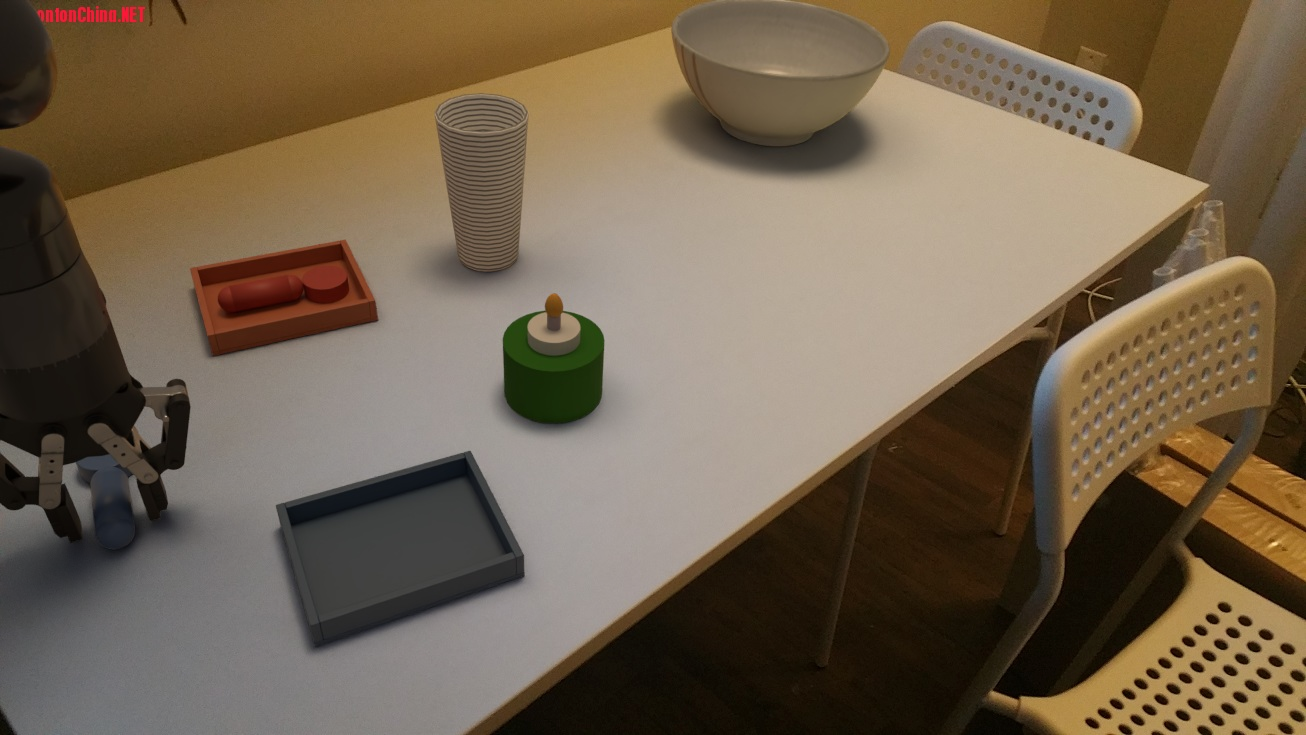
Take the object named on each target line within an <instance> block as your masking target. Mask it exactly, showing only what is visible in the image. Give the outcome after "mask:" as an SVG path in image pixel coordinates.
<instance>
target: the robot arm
mask: <svg viewBox="0 0 1306 735" xmlns="http://www.w3.org/2000/svg"><path fill="white" fill-rule="evenodd" d="M57 63H58V62H57V57H56V52H55V49H54V45H53V42H52V39H51V36H50V34H49V32H48V30H47V28H46V25H45V23H44V22H43V20H42V17H41V16H40V14H39V13H38V11H37V10H36V8H35V7H34V5H32V3H31V2H30V0H0V131H3V130H5V131H6V130H13V129H17V128H21V127H25V126H26V125H29V124H31V123H32V122H34V121H35V120H36V119H38V118H39V117H40V116H42V115H43V114H44V112H46V110H47V109H48V107H49V105H50V104H51V102H52V100H53V98H54V96H55V92H56V87H57V81H58V64H57ZM57 180H58V179H57V178H56V176H55V174H54V172H53V171H52V170H51V168H50V166H48V165H47V163H45V162H44V161H42V160H41V159H40V158H38V157H36V156H34V155H32V154H29V153H26V152H24V151H21V150H18V149H15V148H11V147H7V146H3V145H0V442H1V441H2V442H4V443H6V444H8V445H10V446H12V447H15V448H17V449H19V450H21V451H24V452H26V453H28V454H30V455H32V456H34V457H36V458H38V465H37V466H38V467H37V476H26V475H25V473H23V472H22V471H21V470H20V469H19V468H17V467H16V466H15V465H14V464H13V463H12V462H11V461H10V460H9V459H8V458H6V456H5V455H4V454H3V453H2V452H0V504H1V505H2V506H3V507H4V508H5V509H7V510H9V511H19V510H22V509H23V508H25V507H26V506H38V507H40V508H42V509H43V511H44V513H45V516H46V519H47V520H48V522H49V525H50V526H51V528H52V529H51V530H52V531H53V533H54V535H56V536H57V537H58V538H60V539H62V538H65V537H67V539H68V541H69V542H70V544H72V543H76V542H79V541H83V540H84V539H83V528H82V527H83V526H82V520H81V517H80V515H79V513H78V510H77V508H76V506H75V503H74V502H73V499H72V497H71V494H70V492H69V490H68V487H67V484H66V483H63V472H64V471H63V470H64V468H63V467H64V466H67V465H71V464H76V462H77V461H80V460H82V459H84V458H86V457H95V456H104V455H108V454H110V455H111V456H112V457H113V458H114V459H115V460H116V461H117V462H118V463H119V464H120V465H121V466H122V467H123V468H125V467H127V468H128V469H129V470H130V471H131V473H132V474H131V475H133V476H134V477H135V479H136V484H137V489H138V492H139V496H140V497H141V501H142V504H143V506H144V508H145V511H146V514H147V517H148V519H149V522H153V521H157V520H160V519H161V520H162V513H161V512H162V511H163V512H164V511H167V510H168V507H169V500H168V494H167V491H166V490H167V489H166V486H165V484H164V480H163V477H162V476H161V475H162V474H163V473H165V471H167V470H171V471H178V470H180V469H182V467H184V465H185V462H186V453H187V452H186V451H187V444H188V435H189V425H190V418H191V417H190V416H191V407H192V406H191V402H190V397H189V392H188V387H187V384H186V382H185V381H184V380H183V379H181V378H173V379H171V380H169V381H168V382H167V383H166V386H145V387H144V386H143V384H142V383H141V382H140V381H139V380H137V379H136V378H135V377H133V375H131V373H130V371H129V369H128V366H127V363H126V361H125V357H124V355H123V352H122V351H123V350H122V349H121V346H120V343H119V340H118V337H117V334H116V331H115V327H114V326H113V323H112V320H111V317H110V314H109V311H108V308H107V299H106V296H105V294H104V292H103V290H102V289H101V287H100V285H99V282H98V279H97V276H96V275H95V273H94V270H93V268H92V267H91V265H90V263H89V261H88V259H87V258H86V256H85V254H84V251H83V249H82V246H81V244H80V242H79V238H78V236H77V233H76V229H75V227H74V225H73V222H72V218H71V215H70V213H69V209H68V207H67V204H66V200H65V198H64V195H63V192H62V190H61V188H60V185H59V182H58V181H57ZM145 407H147V408H150V409H152V411H153V413H154V417H155V418H156V419H158V420H161V422H162V428H161V437H160V438H161V439H160V442H159V443H158V444H156V445H154V446H152V447H151V446H150V445H149V443H148V442H146V440H145V439H143V438H144V437H142V436H141V434H140V433H139V431H138V429H137V427H136V426H135V425H136V423H137V421H138V419H139V417H140V416H141V414H142V412H143V410H144V409H145Z"/></svg>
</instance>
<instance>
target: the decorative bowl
mask: <svg viewBox="0 0 1306 735" xmlns="http://www.w3.org/2000/svg"><path fill="white" fill-rule="evenodd" d="M670 29H671V30H670V31H671V40H672V45H673V49H674V54H675V57H676V60H677V63H678V66H679V68H680V72H681V74H682V76H683V78H684V80H685V82H686V84H687V86H688V88H689V89H690V90H691V92H692V94H693V95H694V97H695V98H696V99H697V101H698V102H699V103H700V104H701V105H702V107H704V109H705V110H707V111H708V112H709V113H710V114H711V115H712V116H714V117H715V118H716V119H718V120H719V124H720V126H721V128H722V129H723V130H724V131H725V132H726V133H727V134H729V135H730V136H732V137H734V138H736V139H738V140H740V141H743V142H747V143H748V144H749V143H750V144H754V145H759V146H764V147H765V146H766V147H789V146H795V145H799V144H803V143H804V142H807V141H809V140H810V139H811V138H812V137H813V135H814V134H815V133H816V132H819V131H821V130H823V129H826V128H828V127H830V126H832V125H833V124H835V123H837V122H838V121H840V120H841V119H843V118H844V117H845V116H846V115H848V114H849V113H850V112H851V111H852V110H854V108H856V107H857V106H858V105H859V104H860V102H862V100H863V99H864V98H865V97H866V96H867V94H868V93H869V92H870V90H871V89H872V88H873V87H874V85H875V84H876V82H877V80H878V79H879V78H880V76H881V75H882V72H883V70H884V69H885V66H886V64H887V63H888V60H889V57H890V53H891V47H890V43H889V42H888V40H887V38H886V37H885V35H884V34H882V32H880V31H879V30H878V29H877V28H876V27H874V26H872V25H871V24H869V23H867V22H866V21H864V20H862V19H860V18H858V17H856V16H853V15H851V14H849V13H846V12H843V11H840V10H837V9H833V8H830V7H827V6H823V5H818V4H815V3H809V2H804V1H799V0H798V1H797V0H709V1H704V2H701V3H698V4H695V5H692V6H690V7H687V8H686V9H684V10H683V11H681V12H679V13H678V14H677V15H676V16H675V18H674V19H673V21H672V23H671V28H670Z"/></svg>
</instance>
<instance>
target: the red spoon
mask: <svg viewBox="0 0 1306 735" xmlns="http://www.w3.org/2000/svg"><path fill="white" fill-rule="evenodd" d="M302 282H303V283H302ZM303 290H304V292H305V296H306V297H307V298H308V299H309V300H310V301H313V302H316V303H332V302H336V301H339V300H341V299H343V298H344V297H345V296H346V295H347V294H348V292H349V284H348V277H347V273H346V272H345V270H343V269H342V268H340V267H336V266H319V267H316V268H313V269H311V270H309V271H307V272H306V273H305V274H304V275H303V278H302V281H301V280H300V279H299V278H298V277H297V276H294V275H283V276H278V277H273V278H268V279H262V280H257V281H252V282H247V283H242V284H236V285H231V286H227V287H225V288H223V289H222V290H221V291H220V292H219V294H218V303H219V305H220V307H221V308H222V309H223V310H225V311H227V312H239V311H244V310H249V309H254V308H259V307H263V306H268V305H273V304H278V303H283V302H288V301H293V300H296V299H298V298H299V297H300V296H301V295H302V293H303Z"/></svg>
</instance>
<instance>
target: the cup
mask: <svg viewBox="0 0 1306 735" xmlns="http://www.w3.org/2000/svg"><path fill="white" fill-rule="evenodd" d="M433 114H434V120H435V125H436V126H435V127H436V131H437V136H438V137H437V138H438V144H439V149H440V156H441V161H442V167H443V174H444V179H445V185H446V191H447V197H448V203H449V209H450V210H449V211H450V215H451V221H452V227H453V234H454V239H455V246H456V251H457V256H458V259H459V262H460V263H461V264H463V265H464V266H465V267H467V268H468V269H471V270H474V271H477V272H488V273H491V272H497V271H502V270H504V269H507V268H510V267H511V266H512V265H513V264H514V263H515V262H517V259H518V256H519V252H520V237H521V224H522V208H523V196H524V184H525V169H526V155H527V142H528V128H529V114H530V112H529V111H528V109H527V108H526V105H525V104H523V103H522V102H520V101H518V100H517V99H515V98H513V97H509V96H505V95H502V94H494V93H483V92H480V93H479V92H478V93H466V94H460V95H457V96H454V97H450V98H448V99H446V100H444V101H443V102H441V103H439V104H438V105H437V107H436V109H435V110H434V113H433Z"/></svg>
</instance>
